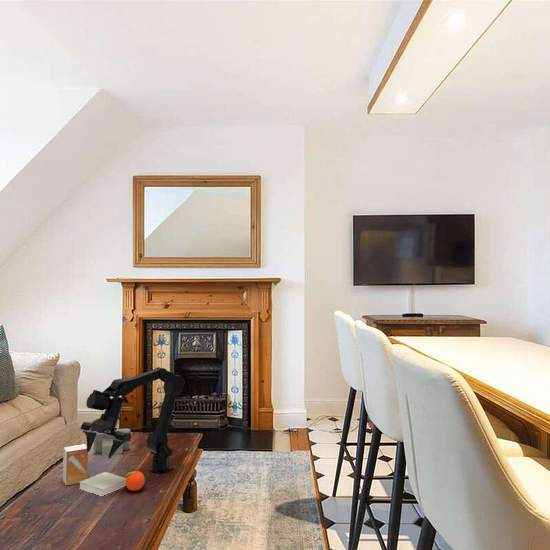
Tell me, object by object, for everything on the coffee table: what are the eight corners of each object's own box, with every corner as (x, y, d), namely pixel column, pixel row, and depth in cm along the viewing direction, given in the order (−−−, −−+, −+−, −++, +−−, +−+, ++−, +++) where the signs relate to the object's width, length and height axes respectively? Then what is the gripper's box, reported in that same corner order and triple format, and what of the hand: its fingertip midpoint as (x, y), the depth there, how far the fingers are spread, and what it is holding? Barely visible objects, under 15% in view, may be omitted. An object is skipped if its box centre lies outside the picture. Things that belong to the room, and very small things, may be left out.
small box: (65, 486, 183) (66, 451, 184) (62, 480, 189) (63, 447, 189) (88, 481, 188) (88, 447, 188) (84, 476, 193) (84, 443, 194)
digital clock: (131, 448, 227) (131, 425, 227) (128, 455, 218) (129, 431, 219) (95, 450, 225) (95, 427, 225) (91, 457, 216) (91, 433, 216)
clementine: (123, 496, 175) (124, 476, 175) (121, 488, 181) (121, 469, 181) (146, 492, 178) (146, 472, 179) (142, 485, 185) (143, 466, 185)
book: (105, 479, 191) (105, 471, 191) (128, 486, 184) (128, 478, 184) (79, 489, 181) (79, 481, 181) (102, 497, 174) (102, 489, 174)
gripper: (79, 405, 179) (64, 449, 175) (123, 417, 175) (109, 462, 171) (95, 407, 190) (81, 448, 185) (137, 418, 185) (124, 461, 181)
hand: (98, 454), depth 180 cm, fingers open, 9 cm apart
